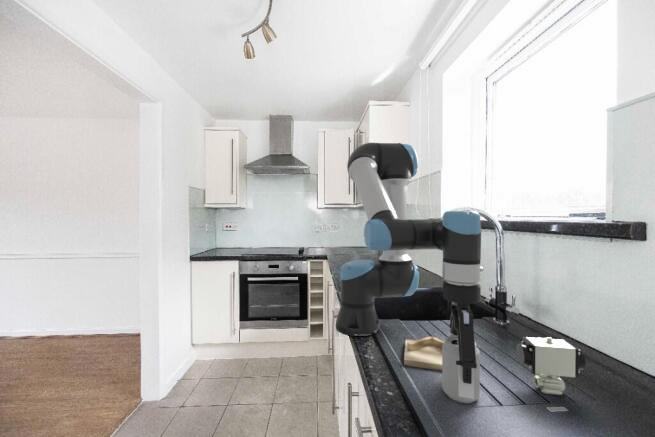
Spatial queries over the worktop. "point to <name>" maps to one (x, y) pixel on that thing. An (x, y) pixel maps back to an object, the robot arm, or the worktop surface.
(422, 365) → the v block
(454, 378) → the can
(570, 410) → the worktop surface
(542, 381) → the pneumatic valve
